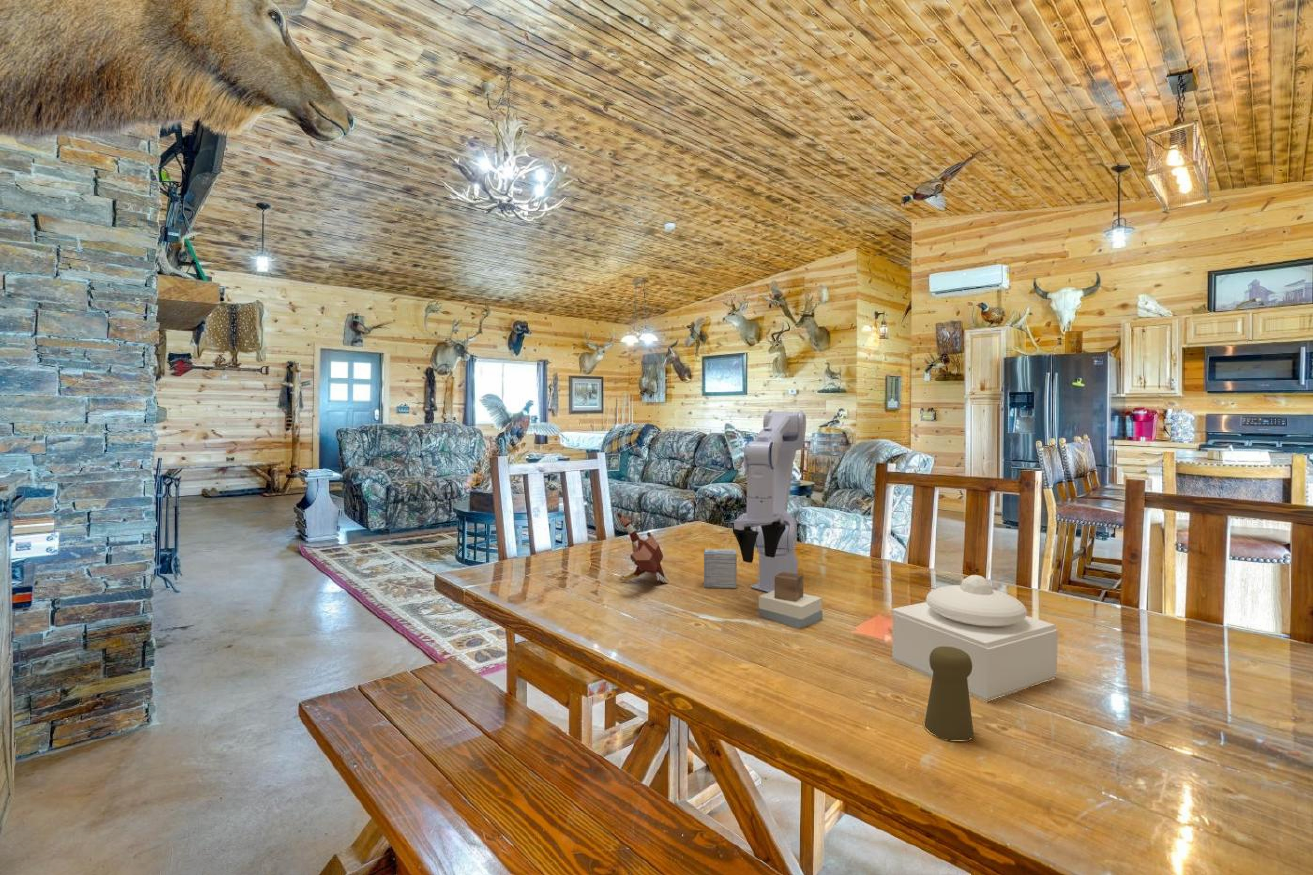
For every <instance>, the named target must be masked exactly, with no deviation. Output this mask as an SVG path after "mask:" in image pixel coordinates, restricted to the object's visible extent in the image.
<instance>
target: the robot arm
mask: <svg viewBox="0 0 1313 875" xmlns="http://www.w3.org/2000/svg"><path fill="white" fill-rule="evenodd" d="M762 427H763V428H762V429H761V430H760V431H759V433H758V434H757V436H756V437H755V438H754V440H753V441H752V440H750V441H749V442H748V443H746V444H745V445H744V449H743V463H744V475H745V476H746V514H744V515H743V516H742V517H740V518H737V519H734V520H733V528H732V534H733V535H734V536H735V538H736V541H737V542H738V543H737V544H738V546H739V549H740V553H741V557H742V561H743V562H746V563H750V564H752V563H753V561H754V556H755V553H754V552H755V549H756V552H758V583H755V584H751V585H750V588H752V589H756V590H759V591H761V592H762V591H763V592H765V593H768V592H771V591H774V590H775V576H776V575H778V574H779V573H781V572H789V573H796V574H799V571H798V570H799V561H798V557H797V555H796V553H795V552H794V551H795V550H796V548H797V542H798V524H797V521H796V519H795V518H794V516H792V515H791V514H790V513H789V512H788V507H789V498H790V493H791V492H790V491H791V483H792V475H793V467H794V461H795V457H796V453H797V451H799V450H800V449H802V448H804V443H805V439H806V430H807V429H806V428H807V418H806V414H805V413H804V412H803V411H802V410H801V411H800V410H799V411H770V410H768V411H766V412H765V414H764V416H763V420H762Z"/></svg>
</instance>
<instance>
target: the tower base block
mask: <svg viewBox="0 0 1313 875" xmlns="http://www.w3.org/2000/svg"><path fill="white" fill-rule="evenodd" d="M758 616H759V617H761V618H763V619H768V620H771V621H774V622H776V623H778V624H783V625H786V626H789V627H793V628H796V629H803V628H805V627H807V626H810V625H812V624H815V623H818V622H819V621H823V609H822V610H820V611H818V612H816V613H814V614H812V615H810V616H808V617H806V618H804V619H802V620H801V619H798V618H794V617H790V616H786V615H783V614H779V613H775V612H771V611H768V610H764V609H760V608H759V607H758Z"/></svg>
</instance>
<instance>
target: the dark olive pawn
mask: <svg viewBox="0 0 1313 875" xmlns="http://www.w3.org/2000/svg"><path fill="white" fill-rule="evenodd" d="M929 662H930V667H931V669H932V670H933V678H931V684H930V692H929V697H928V701H927V706H926V714H925V718H924V723H925V727H926V728H927V729H928V730H929V731H930V732H931V733H933V734H935V735H936V736H938V737H940V738H943V739H947V740H969V739H970V738H972V737H973V735H975V734H974V727H973V716H972V709H971V701H970V695H969V690H968V681H967V677H968V676H969V675H970V674H971V671H972V662H971V658H970V656H969V655H968V654H967V653H966V652H964V651H962V650H960V649H958V648H954V647H946V646H942V647H937V648H934V649H933V651H932V652H931V653H930V657H929ZM925 727H924V728H925ZM940 738H939V739H940ZM973 738H974V737H973ZM943 739H942V740H943Z"/></svg>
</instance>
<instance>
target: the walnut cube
mask: <svg viewBox="0 0 1313 875" xmlns="http://www.w3.org/2000/svg"><path fill="white" fill-rule="evenodd" d="M803 594H804V574H802V573H798V574H796V573H789V572H781V573H779V574H778V575H776V576H775V594H774V598H776V599H782V600H788V601H794V602H796V601H797V600H799V599H800V598H801V597H803Z"/></svg>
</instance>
